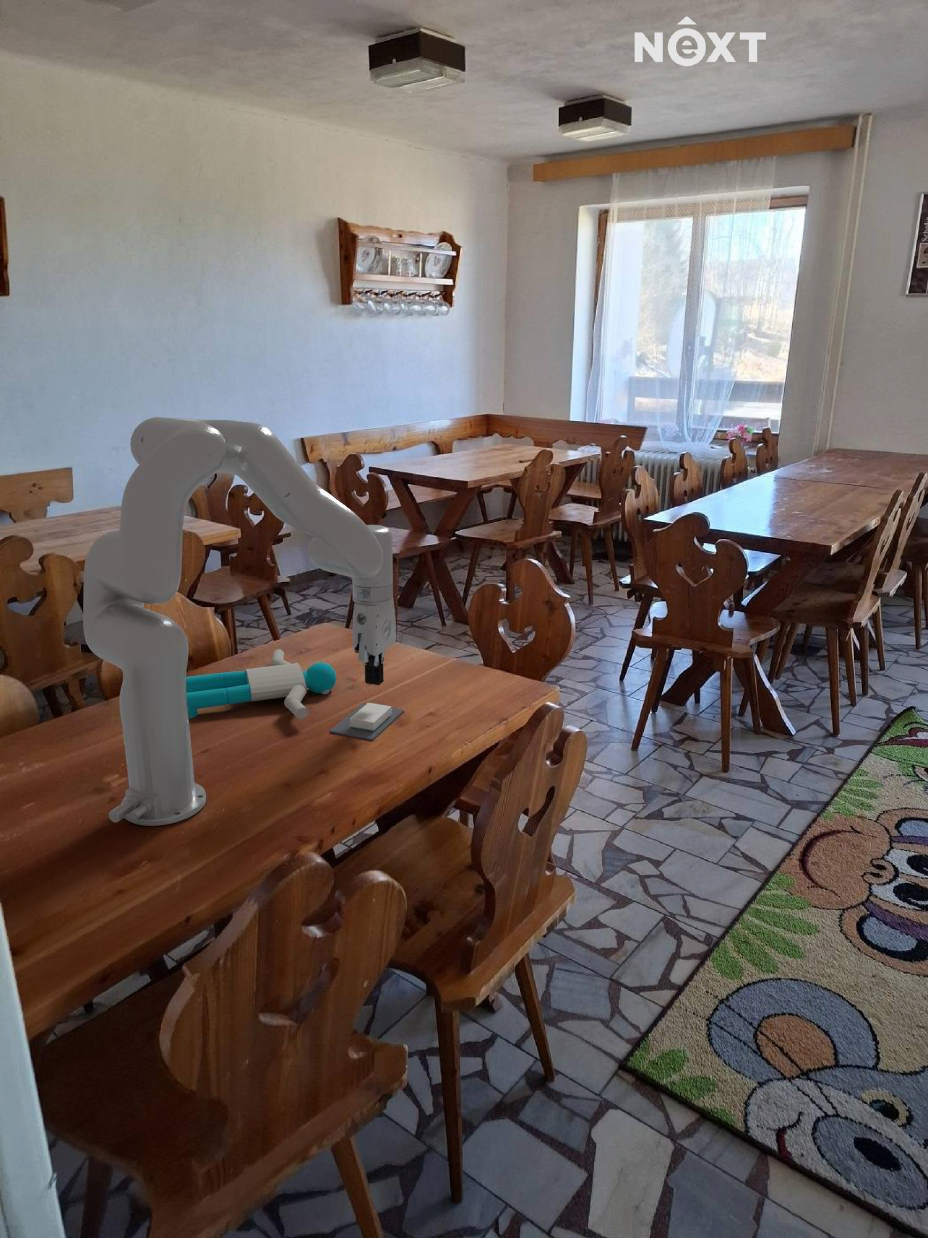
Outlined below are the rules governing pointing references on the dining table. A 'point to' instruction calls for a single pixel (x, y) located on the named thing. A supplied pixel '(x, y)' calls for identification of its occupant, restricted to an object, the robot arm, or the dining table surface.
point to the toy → (260, 685)
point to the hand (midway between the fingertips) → (374, 682)
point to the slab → (370, 716)
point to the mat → (347, 730)
